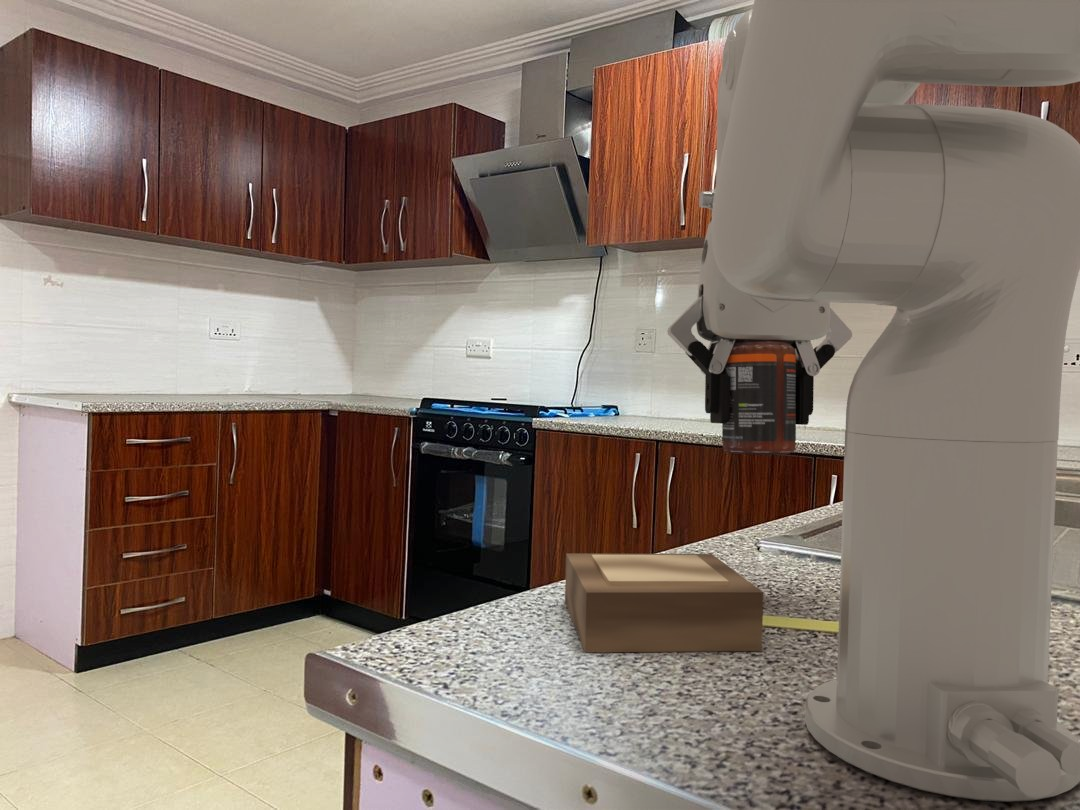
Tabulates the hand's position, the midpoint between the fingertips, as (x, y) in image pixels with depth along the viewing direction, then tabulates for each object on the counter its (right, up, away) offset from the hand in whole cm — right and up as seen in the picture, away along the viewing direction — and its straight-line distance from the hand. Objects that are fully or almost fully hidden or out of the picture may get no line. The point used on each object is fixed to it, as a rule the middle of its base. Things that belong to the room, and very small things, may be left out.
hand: (758, 421), depth 68 cm
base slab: (-10, -15, -7) cm, 19 cm away
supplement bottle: (0, -3, 0) cm, 3 cm away
